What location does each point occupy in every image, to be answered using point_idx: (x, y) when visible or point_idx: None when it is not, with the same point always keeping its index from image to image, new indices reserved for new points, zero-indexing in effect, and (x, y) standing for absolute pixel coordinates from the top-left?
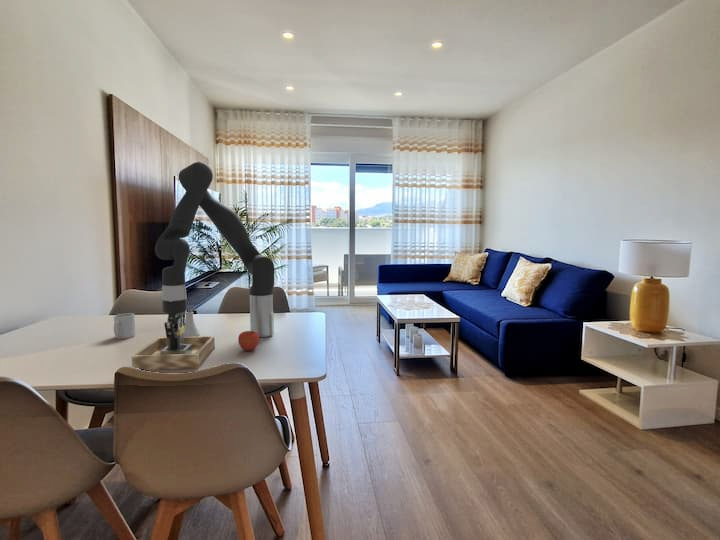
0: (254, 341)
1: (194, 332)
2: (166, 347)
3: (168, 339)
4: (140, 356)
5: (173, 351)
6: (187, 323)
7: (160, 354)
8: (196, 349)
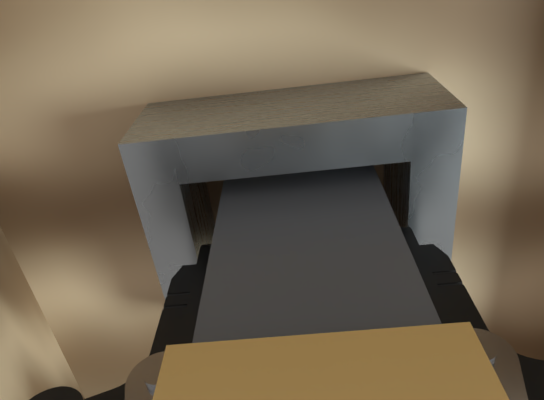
0: None
1: None
2: (301, 147)
3: (206, 304)
4: None
5: (161, 280)
6: None
7: (132, 128)
8: (498, 292)
